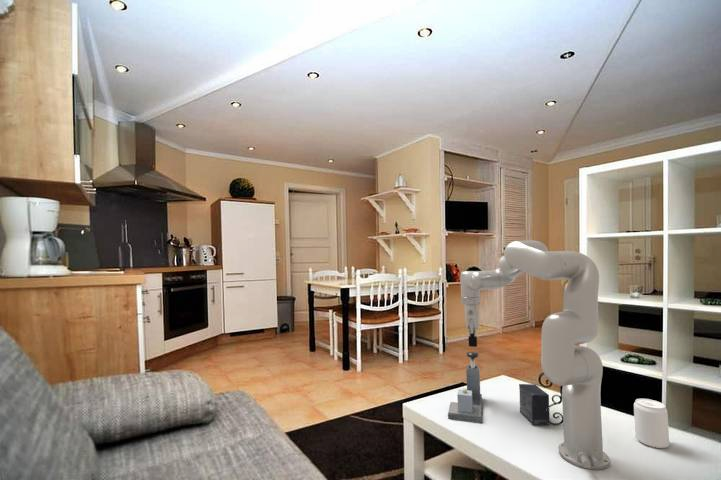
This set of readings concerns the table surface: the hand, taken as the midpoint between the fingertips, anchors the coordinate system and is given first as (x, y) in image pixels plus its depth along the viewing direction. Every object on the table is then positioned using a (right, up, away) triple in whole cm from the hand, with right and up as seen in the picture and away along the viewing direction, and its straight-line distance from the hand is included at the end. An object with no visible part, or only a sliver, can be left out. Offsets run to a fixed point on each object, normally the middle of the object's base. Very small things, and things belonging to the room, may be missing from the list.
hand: (473, 346), depth 143 cm
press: (-5, -21, -8) cm, 23 cm away
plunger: (0, -16, 0) cm, 16 cm away
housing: (-7, -19, -13) cm, 24 cm away
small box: (+17, -21, -18) cm, 32 cm away
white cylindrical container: (+44, -20, -35) cm, 60 cm away
